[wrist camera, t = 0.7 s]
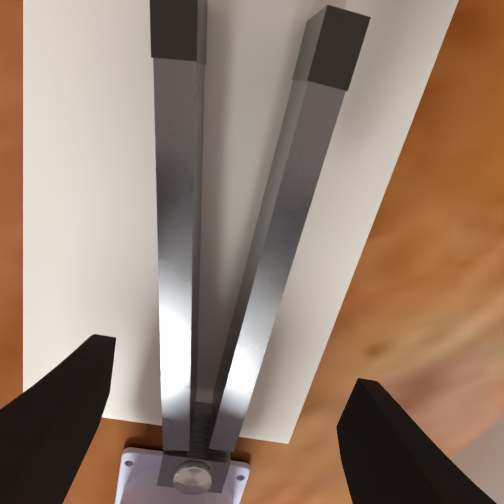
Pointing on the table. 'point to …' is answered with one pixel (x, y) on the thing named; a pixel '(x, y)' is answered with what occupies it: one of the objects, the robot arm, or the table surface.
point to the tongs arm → (178, 202)
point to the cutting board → (213, 186)
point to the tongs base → (272, 245)
